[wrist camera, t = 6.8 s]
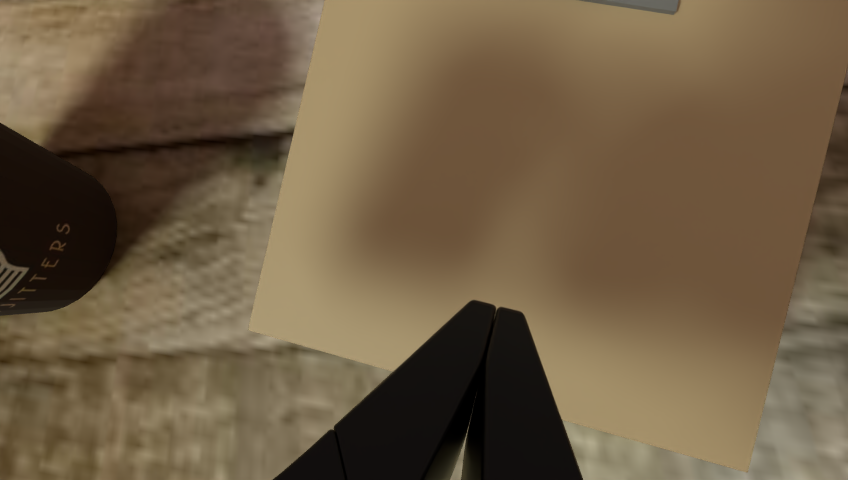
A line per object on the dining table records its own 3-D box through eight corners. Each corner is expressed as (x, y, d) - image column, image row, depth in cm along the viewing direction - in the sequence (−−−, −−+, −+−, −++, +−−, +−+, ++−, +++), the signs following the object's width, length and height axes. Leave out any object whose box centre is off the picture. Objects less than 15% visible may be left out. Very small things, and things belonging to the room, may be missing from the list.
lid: (733, 459, 14) (751, 476, 13) (261, 326, 16) (244, 330, 15) (847, -4, 13) (875, -25, 12) (354, -73, 16) (343, -95, 15)
